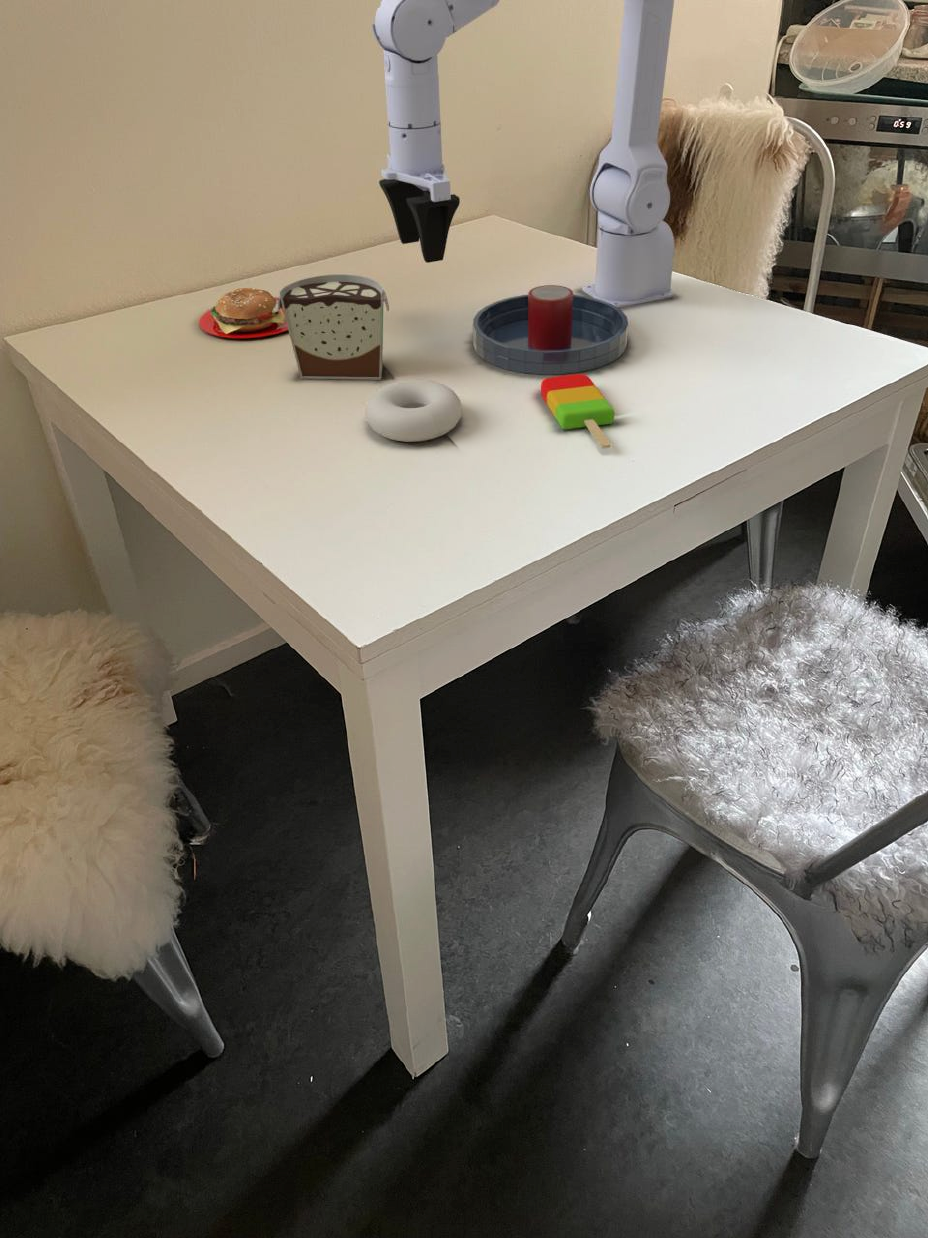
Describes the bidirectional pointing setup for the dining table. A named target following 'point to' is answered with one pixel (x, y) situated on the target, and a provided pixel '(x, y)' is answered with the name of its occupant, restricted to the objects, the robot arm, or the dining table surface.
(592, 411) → the popsicle
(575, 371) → the dark blue round plate
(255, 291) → the hamburger
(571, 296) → the can
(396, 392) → the donut
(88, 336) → the dining table surface
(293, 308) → the food container
